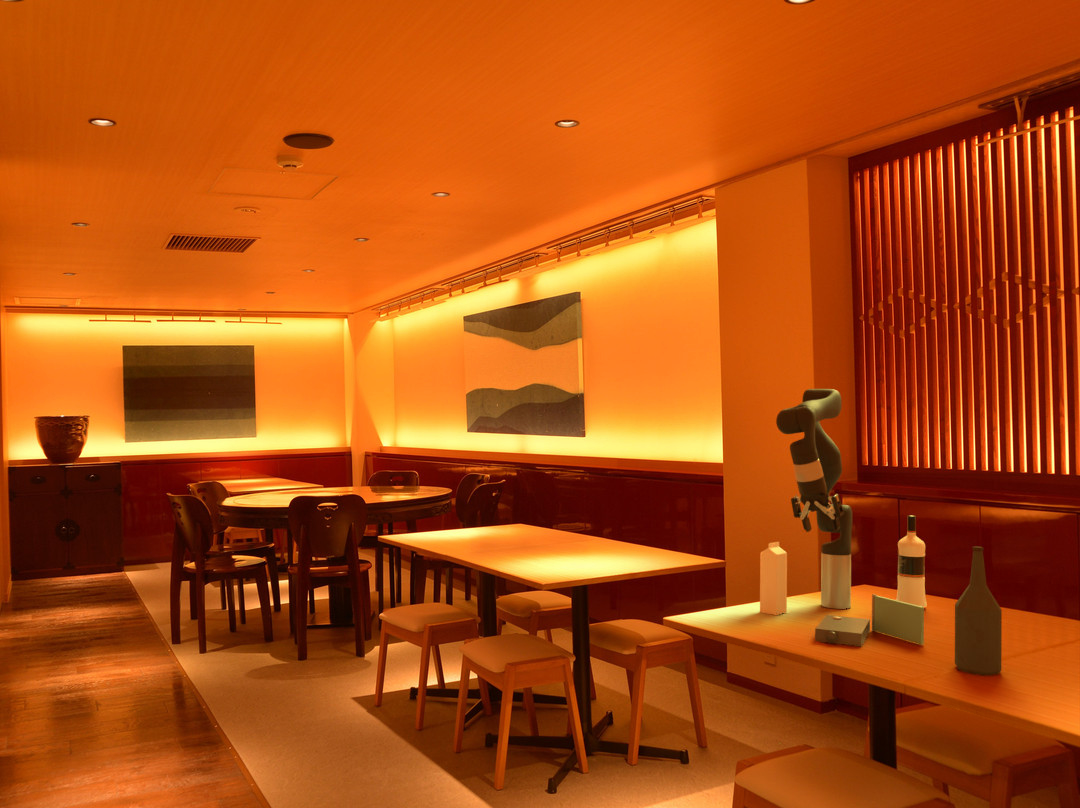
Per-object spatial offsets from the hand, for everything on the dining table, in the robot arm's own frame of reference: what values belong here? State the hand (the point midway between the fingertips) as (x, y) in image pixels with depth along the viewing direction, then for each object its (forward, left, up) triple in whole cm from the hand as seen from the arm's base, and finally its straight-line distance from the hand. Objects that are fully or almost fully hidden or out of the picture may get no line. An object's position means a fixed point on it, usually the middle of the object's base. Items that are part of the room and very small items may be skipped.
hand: (822, 530), depth 253 cm
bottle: (+19, +40, -29) cm, 53 cm away
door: (-6, +19, -29) cm, 35 cm away
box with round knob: (-1, +6, -29) cm, 30 cm away
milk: (-23, -18, -29) cm, 42 cm away
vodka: (-54, +20, -29) cm, 64 cm away
